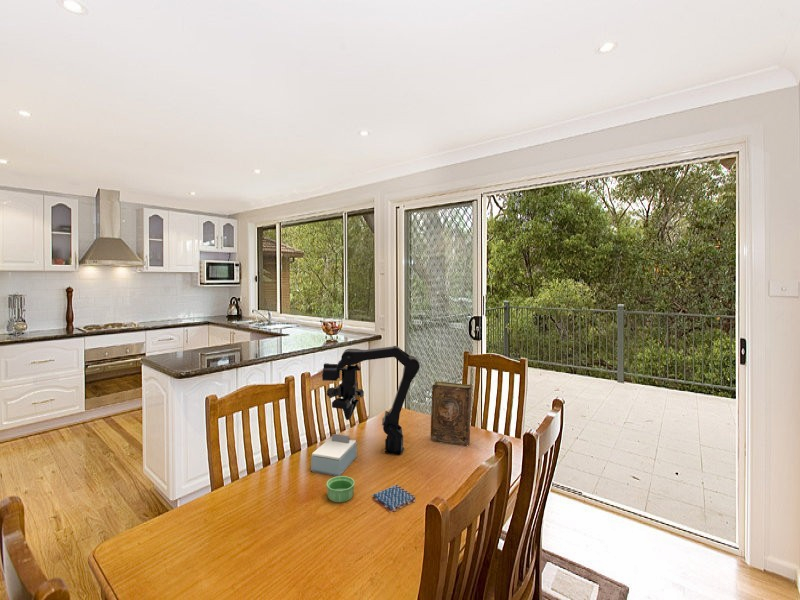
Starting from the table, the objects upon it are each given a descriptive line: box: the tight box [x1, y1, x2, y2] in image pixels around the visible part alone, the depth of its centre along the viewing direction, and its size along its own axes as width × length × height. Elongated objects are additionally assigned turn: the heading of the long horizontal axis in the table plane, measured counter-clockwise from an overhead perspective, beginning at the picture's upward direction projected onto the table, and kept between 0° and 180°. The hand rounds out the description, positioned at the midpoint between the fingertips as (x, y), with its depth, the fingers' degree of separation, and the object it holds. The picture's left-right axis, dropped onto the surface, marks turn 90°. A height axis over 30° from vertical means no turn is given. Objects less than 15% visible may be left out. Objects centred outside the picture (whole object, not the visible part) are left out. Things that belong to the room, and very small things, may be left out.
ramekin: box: [326, 475, 355, 503], centre depth 129 cm, size 9×9×4 cm
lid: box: [311, 433, 357, 460], centre depth 150 cm, size 16×11×3 cm
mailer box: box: [310, 442, 358, 477], centre depth 150 cm, size 16×11×6 cm
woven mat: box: [371, 484, 416, 514], centre depth 127 cm, size 10×11×2 cm
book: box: [430, 381, 472, 447], centre depth 173 cm, size 16×6×25 cm, turn 73°
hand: (348, 419), depth 161 cm, fingers closed
